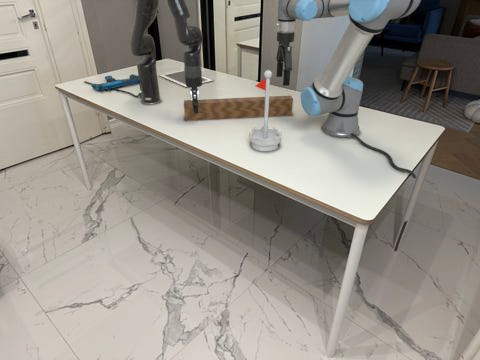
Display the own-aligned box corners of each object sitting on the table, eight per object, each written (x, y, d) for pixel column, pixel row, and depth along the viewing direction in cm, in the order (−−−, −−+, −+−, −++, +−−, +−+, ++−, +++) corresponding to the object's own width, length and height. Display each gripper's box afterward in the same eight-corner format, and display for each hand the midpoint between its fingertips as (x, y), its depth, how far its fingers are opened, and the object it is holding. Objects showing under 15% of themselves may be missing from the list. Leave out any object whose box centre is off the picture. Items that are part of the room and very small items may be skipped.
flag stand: (272, 135, 145) (276, 64, 129) (286, 149, 135) (292, 73, 119) (244, 140, 141) (244, 67, 125) (256, 154, 131) (258, 77, 115)
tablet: (159, 75, 221) (159, 75, 220) (185, 70, 232) (185, 69, 231) (186, 87, 200) (186, 86, 200) (213, 80, 211) (213, 80, 211)
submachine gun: (136, 68, 224) (154, 75, 207) (137, 74, 226) (155, 81, 209) (84, 79, 205) (99, 86, 189) (85, 85, 207) (100, 93, 190)
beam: (289, 111, 169) (290, 95, 164) (291, 115, 165) (293, 98, 160) (185, 117, 163) (183, 100, 159) (185, 120, 159) (183, 103, 155)
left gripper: (184, 70, 156) (188, 106, 166) (184, 80, 144) (188, 117, 154) (201, 70, 157) (203, 105, 166) (202, 79, 145) (204, 116, 154)
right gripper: (271, 27, 156) (269, 73, 167) (284, 37, 135) (280, 89, 146) (287, 26, 156) (284, 73, 168) (302, 36, 136) (297, 89, 147)
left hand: (196, 111), depth 160 cm, fingers closed on beam, 4 cm apart
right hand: (282, 80), depth 157 cm, fingers open, 13 cm apart
